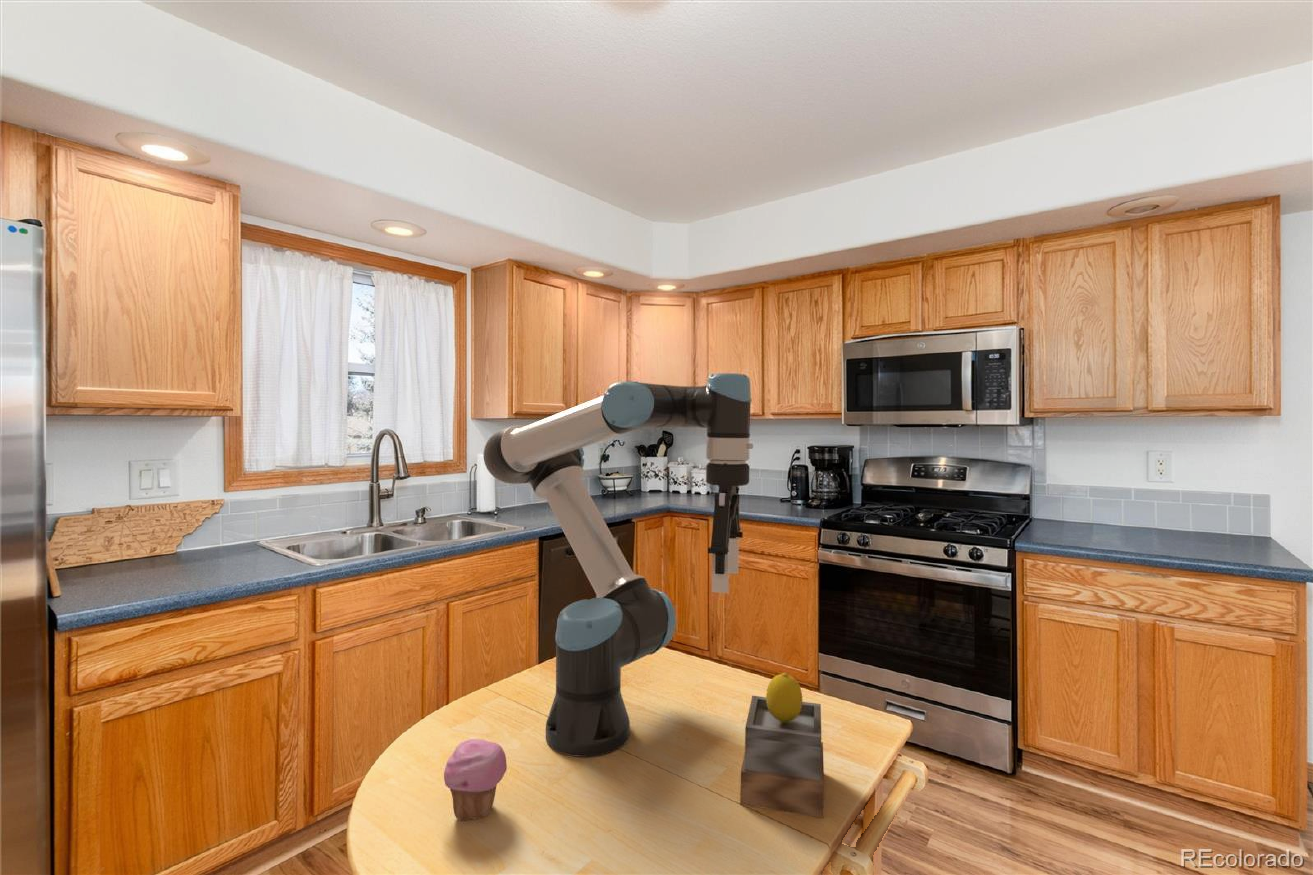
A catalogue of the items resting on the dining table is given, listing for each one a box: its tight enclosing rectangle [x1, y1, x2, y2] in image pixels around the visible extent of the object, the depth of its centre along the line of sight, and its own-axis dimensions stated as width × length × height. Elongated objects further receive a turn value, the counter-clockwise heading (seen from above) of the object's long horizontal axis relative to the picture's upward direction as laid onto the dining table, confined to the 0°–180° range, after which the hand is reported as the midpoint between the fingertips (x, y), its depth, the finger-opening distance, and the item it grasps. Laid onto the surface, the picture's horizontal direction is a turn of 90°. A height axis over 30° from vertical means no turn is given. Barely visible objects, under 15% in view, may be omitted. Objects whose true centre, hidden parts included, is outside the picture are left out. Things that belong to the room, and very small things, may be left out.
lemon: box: [765, 672, 803, 724], centre depth 97 cm, size 6×6×8 cm
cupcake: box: [443, 738, 508, 821], centre depth 90 cm, size 9×9×10 cm
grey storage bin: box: [739, 695, 825, 819], centre depth 97 cm, size 12×12×12 cm
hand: (725, 582), depth 110 cm, fingers open, 13 cm apart
